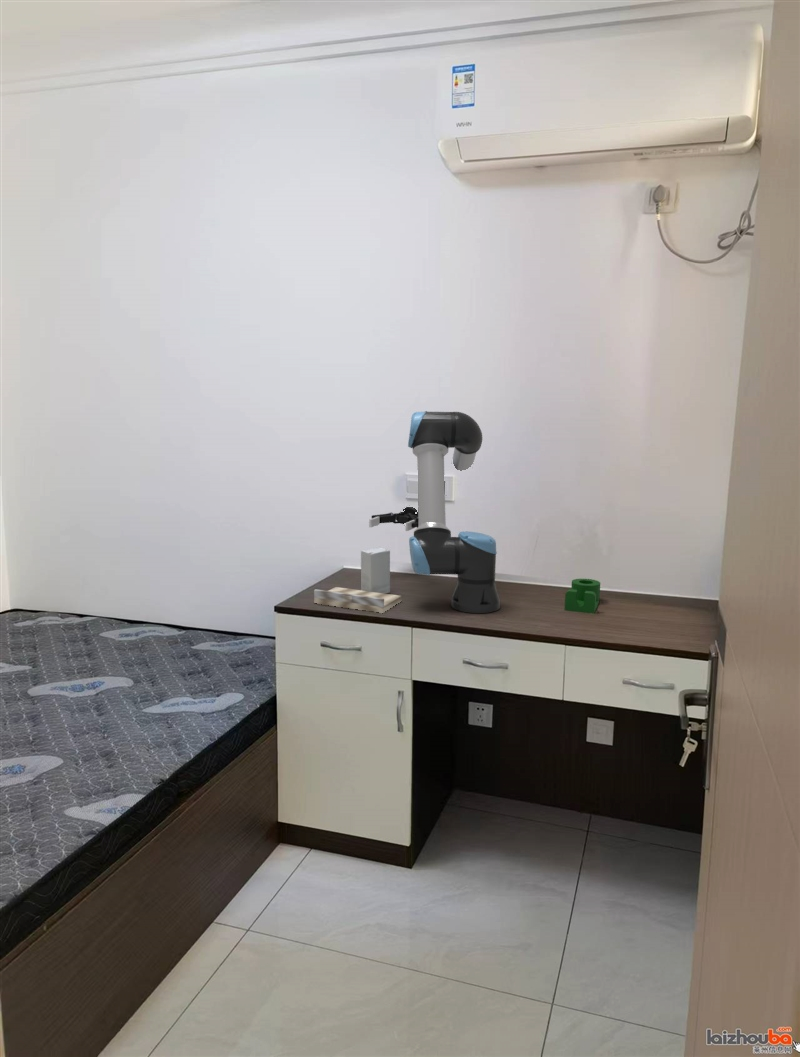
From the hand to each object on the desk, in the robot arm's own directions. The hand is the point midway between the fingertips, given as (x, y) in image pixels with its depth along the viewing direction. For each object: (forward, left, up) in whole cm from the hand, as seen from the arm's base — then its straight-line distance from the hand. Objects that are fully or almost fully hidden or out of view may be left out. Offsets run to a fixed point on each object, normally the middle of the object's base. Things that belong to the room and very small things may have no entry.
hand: (388, 525), depth 258 cm
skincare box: (0, +10, -22) cm, 24 cm away
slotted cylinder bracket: (-65, -8, -22) cm, 69 cm away
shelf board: (0, +22, -21) cm, 31 cm away
